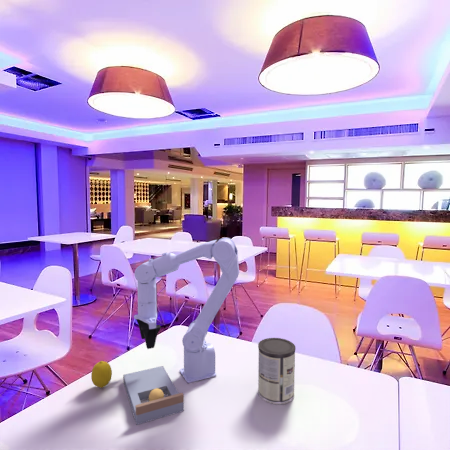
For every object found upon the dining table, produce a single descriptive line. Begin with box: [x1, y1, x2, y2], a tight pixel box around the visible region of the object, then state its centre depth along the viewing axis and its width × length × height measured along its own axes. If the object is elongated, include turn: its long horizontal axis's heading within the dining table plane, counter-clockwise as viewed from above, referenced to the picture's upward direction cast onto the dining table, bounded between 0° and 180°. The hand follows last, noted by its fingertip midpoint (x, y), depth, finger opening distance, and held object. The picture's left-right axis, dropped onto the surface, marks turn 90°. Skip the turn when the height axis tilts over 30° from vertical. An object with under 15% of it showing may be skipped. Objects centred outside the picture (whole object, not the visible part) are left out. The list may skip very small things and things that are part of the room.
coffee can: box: [257, 337, 296, 405], centre depth 91 cm, size 10×10×14 cm
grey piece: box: [122, 365, 185, 425], centre depth 89 cm, size 12×20×4 cm, turn 26°
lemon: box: [90, 360, 113, 389], centre depth 93 cm, size 6×6×8 cm
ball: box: [148, 388, 165, 402], centre depth 86 cm, size 4×4×4 cm
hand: (147, 342), depth 101 cm, fingers open, 7 cm apart
